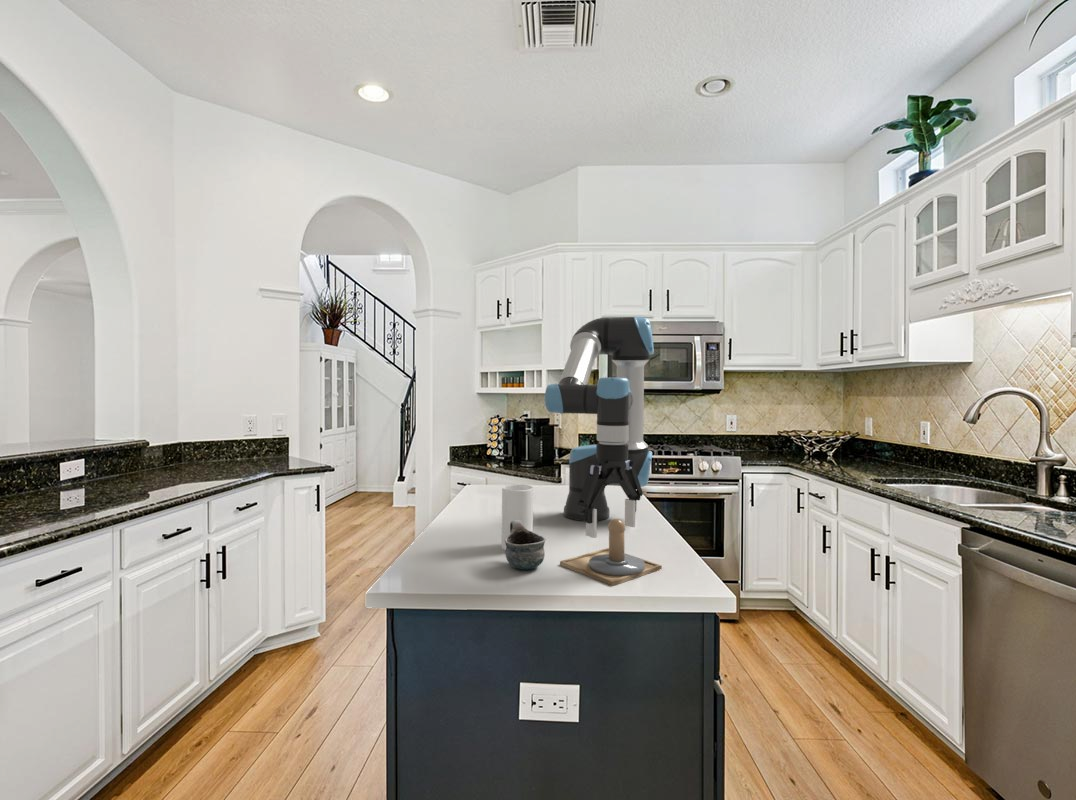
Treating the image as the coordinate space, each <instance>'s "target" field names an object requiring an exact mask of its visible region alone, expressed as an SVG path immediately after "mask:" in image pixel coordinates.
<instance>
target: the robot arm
mask: <svg viewBox="0 0 1076 800" xmlns="http://www.w3.org/2000/svg"><path fill="white" fill-rule="evenodd" d="M569 349H570V353H569V355H568V357H567V360H566V362H565V365H564V368H563V371H562V373H561V377H560V379H559V382H558V383H554V384H553V383H552V384H549V385H548V384H547V386H546V388H545V392H544V404H545V409H546V411H548V412H549V413H555V414H560V415H561V414H562V415H563V414H586V415H596V441H598V442H597V444H585V445H581V446H580V445H579V446H576V447H573V448H571V450H570V452H569V453H570V454H569V461H568V465H569V470H568V471H569V474H568V475H569V478H568V480H569V481H568V483H569V484H568V486H569V488H568V489H569V490H568V495H567V499H566V502H565V505H564V507H563V516H564V517H565V518H567V519H570V520H575V521H582V522H583V521H584V523H585V536H587V537H589V538H592V539H596V538H597V527H598V526H597V523H598V521H603V520H607V519H608V518H610V507H609V505H608V500H607V497H606V493H605V489H606V487H607V486H613V487H620V488H621V489H622V491H623V493H624V494H625V495H626V498H625V499H624V524H625V527H630V528H635V527H636V513H637V502H638V501H640V500H641V499H642V498H641V497H642V496H643V494H644V492H643V490H642V488H643V487H646V486H647V485H648V482H649V479H650V473H651V472H650V471H651V466H652V458H653V452H652V451H651V450H649V445H648V443H646V442H645V441H644V415H645V414H644V404H645V402H644V400H645V398H644V397H645V396H644V395H645V393H644V392H645V375H644V374H645V366H646V364H647V363H648V362H649V361H650V356H652V355H654V353H655V349H654V338H653V331H652V325H651V321H650V320H649V318H647V317H641V316H640V317H639V316H631V317H629V316H627V317H625V316H623V317H600V318H595V319H592V320H590V321H588V322H586V323H585V324H584V325H582V326H581V327H580V328H579V329H577V331H576V332H575V333H574V335H573V336H572V338H571V340H570V345H569ZM600 355H601V356H602V355H610V356H611V361H612V362H613V363H614V364H615V366H616V377H600V378H599V379H598V380H597V384H588V383H589V381H590V377H591V373H592V369H593V366H594V364H595V359H596V358H597V357H599V356H600Z"/></svg>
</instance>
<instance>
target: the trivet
mask: <svg viewBox="0 0 1076 800" xmlns="http://www.w3.org/2000/svg"><path fill="white" fill-rule="evenodd" d="M604 554H609V547H608V548H607V547H606V548H604V549H600V550H597V551H593V552H592V551H591V552H590V553H585V554H582V555H578V556H574V557H570V558H567V559H563V560H561V561H559V566H561V567H564V568H566V569H570V570H571V571H575V572H577V573H579V574H582V575H585V576H587V577H589V578H592V579H594V580H598V581H600V582H602V583H605V584H607V585H610V586H613V587H614V586H617V585H619V584H622V583H625V582H629V581H632V580H634V579H637V578H640V577H642V576H645V575H649V574H651V573H654V572H657V570H658V571H660V569H661V570H662V569H663V568H662V567H663V565H662V564H659V563H656V562H653V561H649V560H646V559H645V558H644V559H643V558H640V559H642V560H643V561H644V562H645V569H644V571H642V572H641V573H638V574H634V575H627V576H614V575H606V574H601V573H598V572H595V571H593V570H592V569H590V567H589V560H590V559H591V558H592V557H595V556H598V555H604ZM624 555H630V556H632V555H631V554H627V553H625V552H624ZM636 557H637V556H636ZM637 558H639V557H637Z"/></svg>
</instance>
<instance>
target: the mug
mask: <svg viewBox="0 0 1076 800" xmlns="http://www.w3.org/2000/svg"><path fill="white" fill-rule="evenodd" d="M546 540H547V539H546V538H545V537H544V536H543V535H539V534H538V533H536V532H534V531H533V532H531V531H529V530H527V529H526V528H525V527H524V525H523V524H522V522H521V521H520V520H513V521H511V523H510V534H509V535H508V536H506V537H505V543H506V550H504V551H505V558H506V560H507V562H508V564H509V565H510V566H512V567H513V568H515V569H518V570H533V569H535V568H537V567H538V566H540V565H541V564H542V563H543V562H544V559H545V548H544V547H545V543H546Z"/></svg>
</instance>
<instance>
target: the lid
mask: <svg viewBox="0 0 1076 800" xmlns="http://www.w3.org/2000/svg"><path fill="white" fill-rule="evenodd" d="M607 529H608V548H609V554H604V555H598V556H595V557H592V558H591V559H590V560H589V567H590V569H592V570H593V571H595V572H598V573H601V574H606V575H614V576H627V575H634V574H638V573H641V572H642V571H644V569H645V562H644V561H643V560H642V559H643V558H641V559H640V558H639V557H638V558H637V556H635V555H631V554H628V555H624V553H625V531H626V525H625V521H624V520H622V519H619V518H614V519H611V520H610V521H609V522H608V524H607ZM630 555H631V556H630Z"/></svg>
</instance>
